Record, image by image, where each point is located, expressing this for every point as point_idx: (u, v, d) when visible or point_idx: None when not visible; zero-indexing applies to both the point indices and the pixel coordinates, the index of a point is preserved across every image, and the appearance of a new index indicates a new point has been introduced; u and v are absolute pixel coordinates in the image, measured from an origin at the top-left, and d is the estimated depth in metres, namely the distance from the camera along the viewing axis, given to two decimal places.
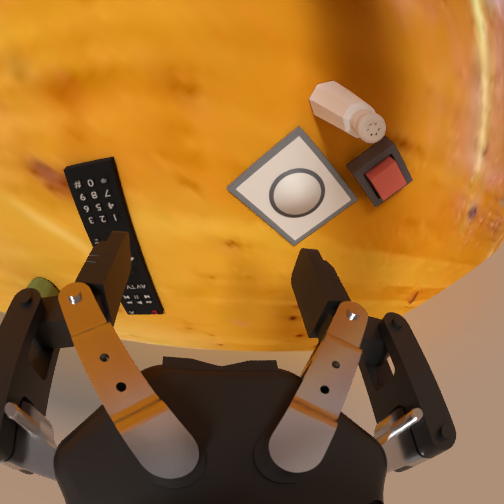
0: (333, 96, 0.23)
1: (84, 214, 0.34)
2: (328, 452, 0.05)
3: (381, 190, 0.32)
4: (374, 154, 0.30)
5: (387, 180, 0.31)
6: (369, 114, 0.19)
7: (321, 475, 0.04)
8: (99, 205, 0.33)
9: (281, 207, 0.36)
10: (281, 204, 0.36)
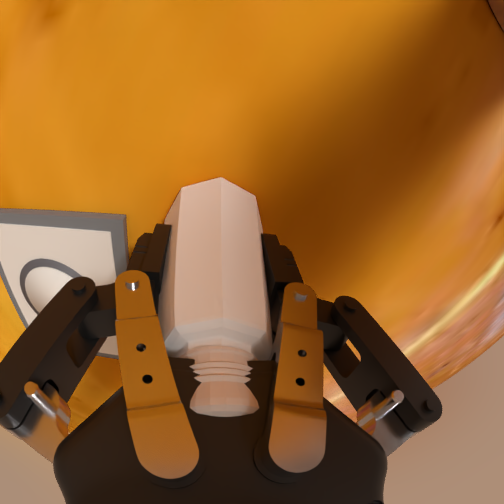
0: (215, 237, 0.10)
1: None
2: (328, 452, 0.05)
3: None
4: None
5: None
6: (248, 408, 0.06)
7: (321, 475, 0.04)
8: None
9: (32, 296, 0.15)
10: (32, 293, 0.15)
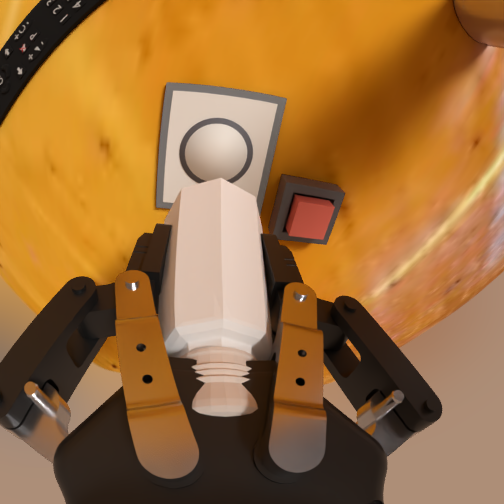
0: (215, 238, 0.10)
1: None
2: (328, 452, 0.05)
3: (296, 222, 0.29)
4: (319, 186, 0.29)
5: (311, 218, 0.29)
6: (248, 409, 0.06)
7: (321, 475, 0.04)
8: None
9: (188, 151, 0.26)
10: (192, 147, 0.26)
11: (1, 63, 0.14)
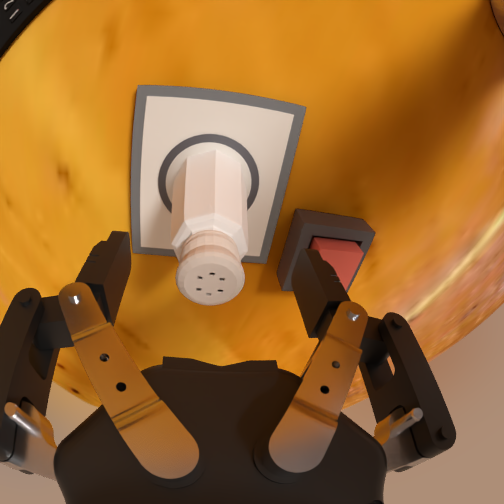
0: (211, 179, 0.14)
1: None
2: (328, 452, 0.05)
3: None
4: (344, 225, 0.22)
5: (334, 268, 0.22)
6: (227, 257, 0.10)
7: (321, 475, 0.04)
8: None
9: (170, 181, 0.19)
10: (174, 176, 0.19)
11: None
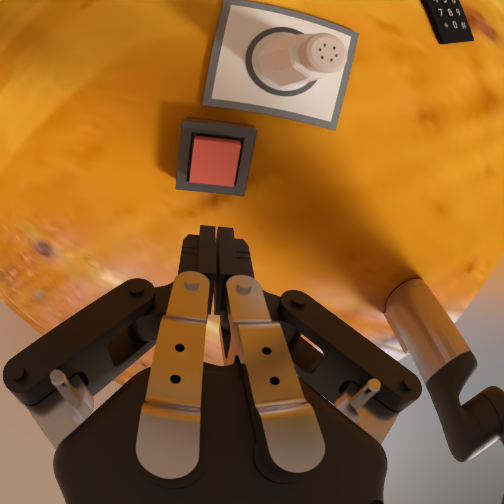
0: None
1: None
2: (328, 452, 0.05)
3: (212, 145, 0.23)
4: None
5: (218, 162, 0.24)
6: (343, 66, 0.13)
7: (321, 475, 0.04)
8: (444, 0, 0.14)
9: None
10: None
11: None
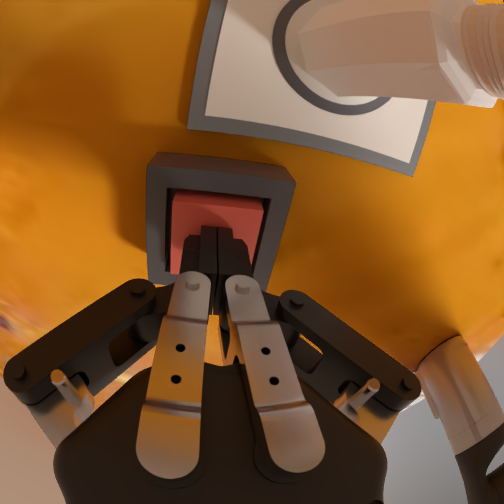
0: None
1: None
2: (328, 452, 0.05)
3: (208, 213, 0.12)
4: None
5: None
6: None
7: (321, 475, 0.04)
8: None
9: None
10: None
11: None
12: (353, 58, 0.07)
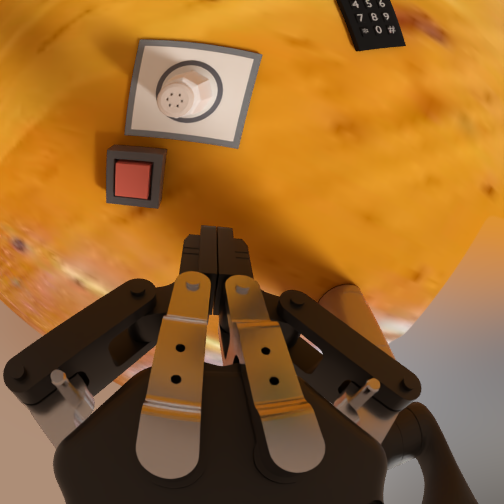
0: (206, 96, 0.22)
1: None
2: (328, 452, 0.05)
3: (129, 167, 0.28)
4: (160, 184, 0.31)
5: (134, 180, 0.29)
6: (189, 108, 0.18)
7: (321, 475, 0.04)
8: (367, 5, 0.20)
9: (192, 68, 0.24)
10: (196, 71, 0.25)
11: None
12: None
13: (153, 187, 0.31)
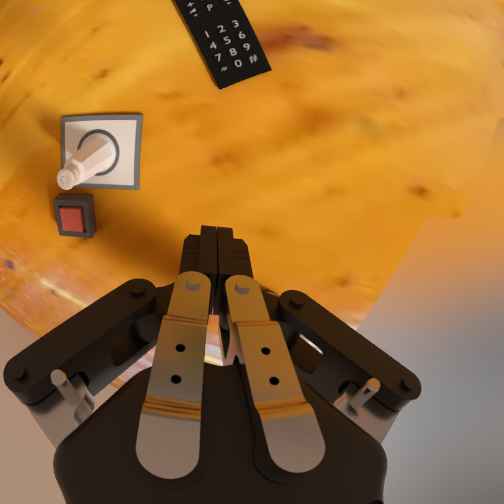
0: (97, 162, 0.31)
1: (244, 27, 0.27)
2: (328, 452, 0.05)
3: (67, 211, 0.37)
4: (90, 220, 0.40)
5: (72, 219, 0.38)
6: (73, 183, 0.26)
7: (321, 475, 0.04)
8: (226, 42, 0.28)
9: (97, 135, 0.33)
10: (99, 137, 0.33)
11: None
12: None
13: (85, 223, 0.39)
